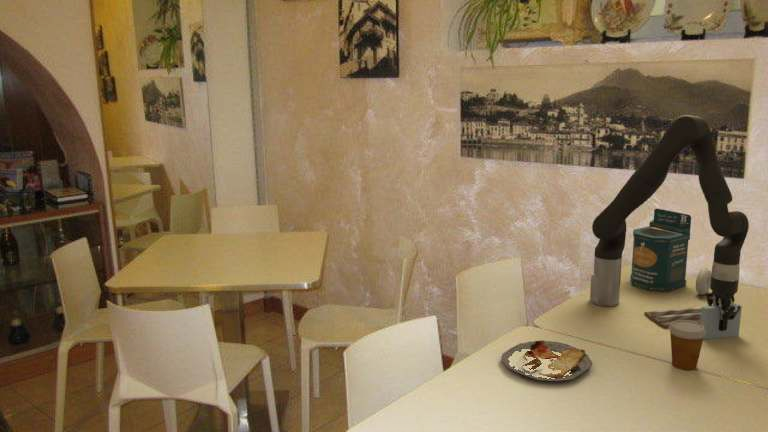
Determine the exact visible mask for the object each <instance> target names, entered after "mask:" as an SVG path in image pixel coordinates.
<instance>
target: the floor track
mask: <svg viewBox="0 0 768 432" xmlns="http://www.w3.org/2000/svg"><path fill="white" fill-rule="evenodd" d="M702 307H703V306H701V307H690V308H678V309H677V308H675V309H665V310H651V311H644V314H643V315H644V316H645V317H647V318H648V319H650V321H653V322H654V323H655V324H657V325H659V326H660V327H661V328H663V329H669V326H670V325H671V322H673V321H676V320H688V321H694V322H697V323H699V324H701V313H702Z"/></svg>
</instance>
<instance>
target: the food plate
mask: <svg viewBox="0 0 768 432" xmlns="http://www.w3.org/2000/svg"><path fill="white" fill-rule="evenodd" d="M522 349H530V350H531V351H527V352H526V353H525V355H526V356H528V357H533V358H536V359H534V360H532V361H530V362H529V363H527V364H526V363H525V364H524V363H523V365H522V367H523V366H524V365H525V366H527V365H534V364H535V365H534V366H532V368H531V369H533V370H534V369H536V368H537V367H539V366H540V365H541V364H542V363H541V361H540V360H539V359H538V358H541V359H551V358H557V359H556V360H554V362H552V363H551V364H549V365H548V368H549V369H552V370H553V371H554V370H555V369H556V370H561V373H558V374H552V373H550V374H543V373H540V372H538V374H539V375H543V376H547V377H551V378H555V379H551V378H549V379H547V378H542V377H538V378H537V377H534V376H532V375H533V374H532V375H525V372H526V371H525V370H522V369H521V370H522V371H521V370H519V369H520V368H519V369H518V370H516V369H514V368H515V366H513V367H511V366H510V365H509V362H510V361H509V360H508V358H509V357H510V356H512V354H513V353H514V352H515V351H519V352H521V350H522ZM552 351H554V352H559V353H561V356H558V355H556V354H554V353H553V352H552ZM525 355H524V356H525ZM500 359H501V362H502V363H503V364H505V365H506V367H507V368H508V369H510V370H512V371H513V372H514V373H517V374H520V375H521V376H522V375H523V376H524V377H528V378H531V379H534V380H538V381H552V382H555V381H556V382H557V381H558V382H559V381H568V380H574V379H575V378H577V377H578V376H580V375H582V374H583V373H585V372H586V371H588V370H589V369H590V368H592V367H593V366H592V365H593V362H592V360H591V359H590V357H589V355H588V354H587V353H586V350H585V349H579V348H576V347H575V346H572V345H570V344H567V343H564V342H559V341H551V340H543V339H542V340H534V341H530V340H529V341H527V342H520V343H518V344H517V345H514V346H512V347H510V348H509V349H508V350H506V351H504V352H503V353H502V354H501V356H500ZM551 367H554V368H551ZM529 369H530V368H529ZM531 369H530V370H531ZM556 370H555V371H556ZM523 371H524V372H523ZM569 371H571V372H570V373H569V374H572V375H570V376H569V375H566V376H564V375H565V374H566V373H567V372H569ZM563 377H565V378H563Z"/></svg>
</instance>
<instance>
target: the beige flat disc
mask: <svg viewBox="0 0 768 432" xmlns="http://www.w3.org/2000/svg"><path fill="white" fill-rule="evenodd" d="M711 273H712V270H710V269H709V268H701V269H700V270H699V271H698V273H697V275H696V279H695V291H696V293H697V294H698V295H700V296H706V293H709V291H710V290H711V289H710V283H711Z"/></svg>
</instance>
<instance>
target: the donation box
mask: <svg viewBox="0 0 768 432" xmlns="http://www.w3.org/2000/svg"><path fill="white" fill-rule="evenodd" d="M691 226H692V216H691V214H686V213H682V212H677V211H673V210H667V209H664V208H663V209H662V208H655V209H654V211H653V219H652V220H650V221H649V226H644V227H641V228H640V227H639V228H636V229H633V231H632V236H633V245H632V258H631V260H632V261H631V272H630V273H631V274H630V276H629V277H630V278H629V279H630V280H629V282H630V285H631V286H632V287H634V288H639V289H641V290H645V291H646V292H659V293H668V292H671V291H674V290H678V289H681V288H685V287H686V286H687V280H686V275H687V274H686V273H687V272H686V271H687V262H688V249H689V241H690V239H691Z"/></svg>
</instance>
